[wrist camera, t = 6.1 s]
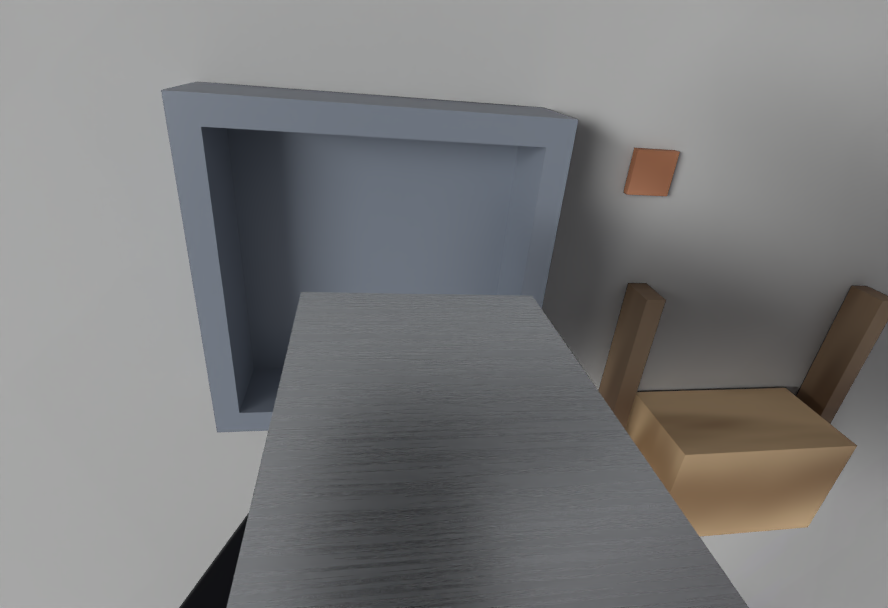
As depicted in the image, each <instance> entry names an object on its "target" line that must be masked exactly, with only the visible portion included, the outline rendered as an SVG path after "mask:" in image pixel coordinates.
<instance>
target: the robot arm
mask: <svg viewBox="0 0 888 608" xmlns="http://www.w3.org/2000/svg"><path fill="white" fill-rule="evenodd" d="M248 515H249V513H248ZM248 515H247V516H246V517H245V519H244V520H243V521H242V523H241V524H240V525H239V527H238V528H237V530H236V531H235V532H234V534H233V535H232V536H231V538H230V539H229V540H228V542H227V543H226V545H225V546H224V547H223V549H222V550H221V551H220V553H219V554H218V556H217V557H216V558H215V560H214V561H213V562H212V564H211V565H210V566H209V568H208V569H207V571H206V572H205V573H204V575H203V576H202V577H201V579H200V580H199V581H198V583H197V584H196V586H195V587H194V588H193V590H192V591H191V592H190V594H189V595H188V596H187V598H186V599H185V601H184V602H183V603H182V605H181V606H180V607H179V608H227V604H228V599H229V595H230V591H231V587H232V582H233V578H234V574H235V570H236V566H237V561H238V557H239V553H240V549H241V544H242V540H243V536H244V532H245V527H246V523H247V519H248Z"/></svg>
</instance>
